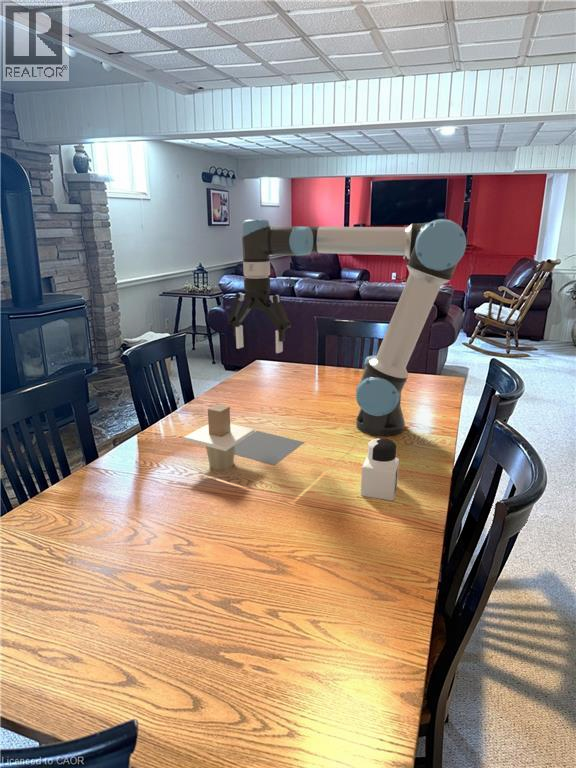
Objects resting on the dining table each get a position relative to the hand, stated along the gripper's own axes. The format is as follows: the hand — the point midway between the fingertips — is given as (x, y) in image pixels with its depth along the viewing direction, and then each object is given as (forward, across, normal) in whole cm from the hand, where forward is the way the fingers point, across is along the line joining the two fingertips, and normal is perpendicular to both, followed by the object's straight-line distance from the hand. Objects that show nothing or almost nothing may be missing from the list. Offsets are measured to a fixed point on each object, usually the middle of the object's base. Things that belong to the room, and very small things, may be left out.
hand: (259, 349), depth 148 cm
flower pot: (+26, +3, -25) cm, 37 cm away
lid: (+17, +3, -25) cm, 31 cm away
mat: (+26, +7, -10) cm, 29 cm away
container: (+27, +44, -18) cm, 54 cm away
